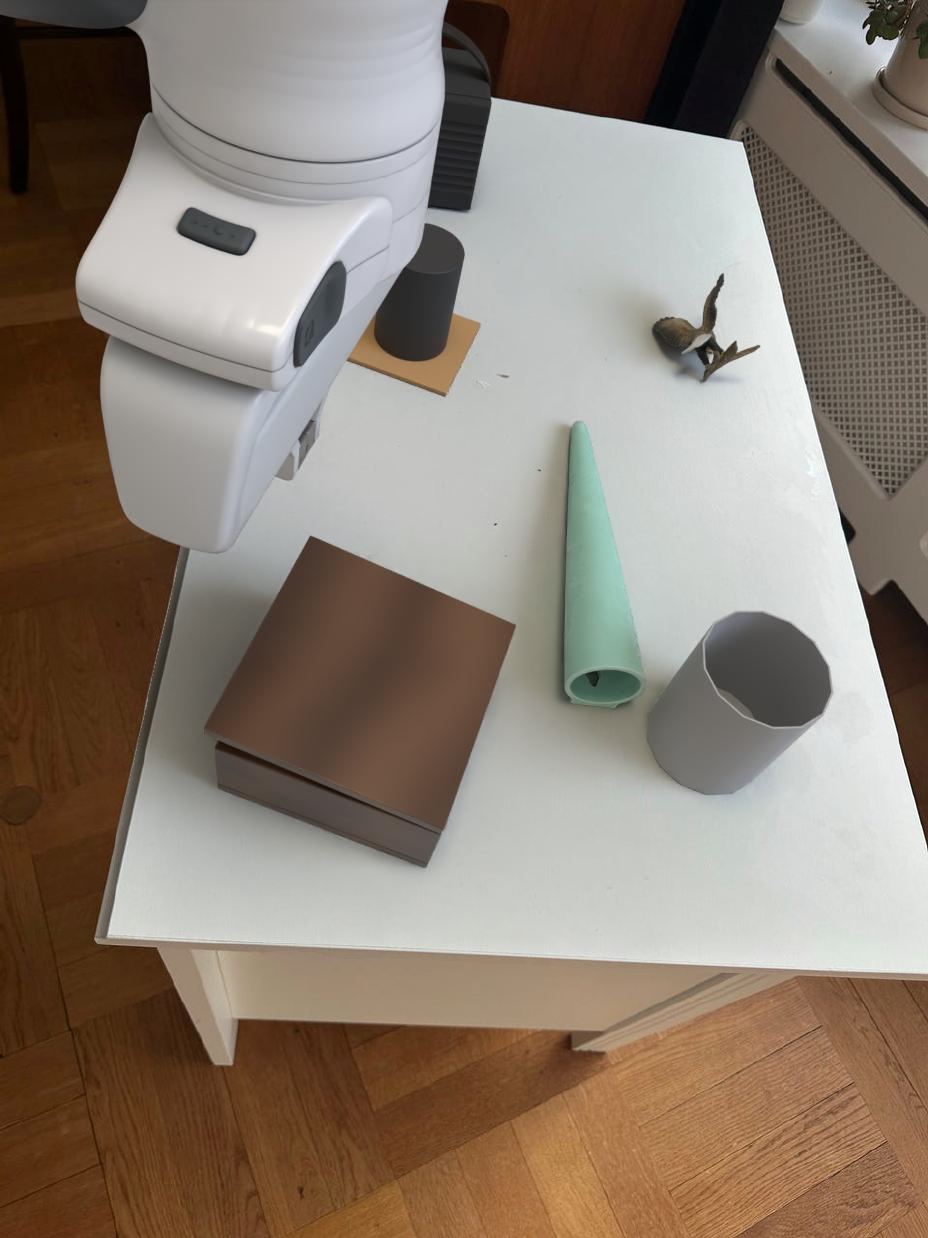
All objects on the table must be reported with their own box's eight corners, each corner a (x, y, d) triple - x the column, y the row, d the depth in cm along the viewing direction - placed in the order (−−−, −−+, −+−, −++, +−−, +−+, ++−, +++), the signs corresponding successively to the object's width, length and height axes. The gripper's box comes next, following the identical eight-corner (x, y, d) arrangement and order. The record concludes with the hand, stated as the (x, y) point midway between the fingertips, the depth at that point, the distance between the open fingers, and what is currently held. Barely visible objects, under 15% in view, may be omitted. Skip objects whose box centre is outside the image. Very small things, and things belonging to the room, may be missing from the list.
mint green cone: (627, 385, 76) (657, 672, 61) (606, 433, 80) (630, 711, 65) (562, 375, 75) (577, 663, 60) (545, 424, 80) (555, 703, 65)
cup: (734, 818, 62) (806, 755, 54) (627, 750, 64) (681, 679, 56) (777, 726, 67) (849, 656, 59) (676, 665, 68) (733, 587, 60)
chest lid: (202, 734, 51) (203, 728, 51) (308, 541, 60) (310, 534, 59) (440, 834, 52) (444, 830, 51) (512, 630, 60) (516, 624, 60)
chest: (217, 788, 57) (213, 748, 52) (312, 606, 65) (316, 557, 61) (426, 868, 57) (441, 835, 52) (494, 675, 65) (513, 631, 60)
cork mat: (334, 355, 79) (335, 352, 79) (376, 288, 85) (377, 285, 85) (445, 396, 79) (446, 393, 79) (480, 326, 85) (481, 323, 84)
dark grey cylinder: (391, 367, 79) (404, 278, 72) (362, 317, 82) (372, 226, 75) (458, 354, 82) (478, 266, 74) (428, 306, 84) (444, 217, 77)
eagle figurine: (761, 368, 87) (725, 290, 90) (760, 329, 80) (721, 247, 83) (683, 402, 89) (649, 325, 91) (675, 367, 82) (639, 285, 85)
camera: (335, 135, 97) (345, -26, 85) (467, 153, 100) (496, 0, 87) (333, 198, 91) (345, 36, 79) (474, 215, 94) (506, 61, 81)
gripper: (329, 10, 37) (313, 298, 48) (37, 312, 25) (107, 598, 37) (480, 63, 37) (428, 340, 48) (255, 393, 25) (257, 655, 36)
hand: (287, 454), depth 42 cm, fingers closed
